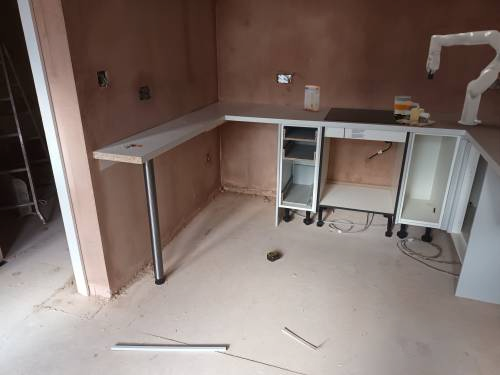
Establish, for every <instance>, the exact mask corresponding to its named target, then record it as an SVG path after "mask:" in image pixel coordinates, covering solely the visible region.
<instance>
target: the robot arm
mask: <svg viewBox="0 0 500 375" xmlns="http://www.w3.org/2000/svg"><path fill="white" fill-rule="evenodd" d="M462 45H463V46H464V45H465V46H472V45H473V46H474V45H475V46H476V45H489V46H491V47H492V48H493V49H494V51H496V56H495V57H494V58H493V60H491V62H490V63H489V64H488V65H487V66H486V67H485V68H484V69H482V70H481V72H480V74H479V77H477V79H473V80H471V81H470V82H469V83H468V84H467V87H466V92H465V93H466V94H465V99H464V103H463V109H462V113H461V118H460V120H458V121H457V123H458V124H460V125H465V126H477V125H478V124H481V123H482V120H480V119H478V117H477V115H478V111H479V106H480V102H481V96H482V94H483V93H484V92H485V91H487V89H488V88H489V87H491V85H493V83H495V81H496V80H497V79H498V78H499V73H500V31H499V30H496V29H491V30H480V31H469V32H464V33H454V34H453V33H452V34H445V35H444V34H443V35H441V34H436V35H435V34H434V35H432V36H431V38H430V44H429V49H428V50H429V51H428V57H427V60H426V67H425V69H426V72H427V74H428V75H427V80H430V81H431V80H433V79H434V74H435V72H436V71H437V70H439V68H440V62H441V61H440V60H441V51H442V46H444V47H450V46H462Z"/></svg>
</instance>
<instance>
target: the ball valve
mask: <svg viewBox="0 0 500 375" xmlns="http://www.w3.org/2000/svg"><path fill="white" fill-rule="evenodd" d="M416 108H417V107H414V108H410V109H411V110H409V109H408V110H406V111H405V115H408V116H410V121H414V122H420V121H421V118H425V119H428V120H429V119H430V116H431V114H430V113H428V112H425V109H424V108H419V109H416Z"/></svg>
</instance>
